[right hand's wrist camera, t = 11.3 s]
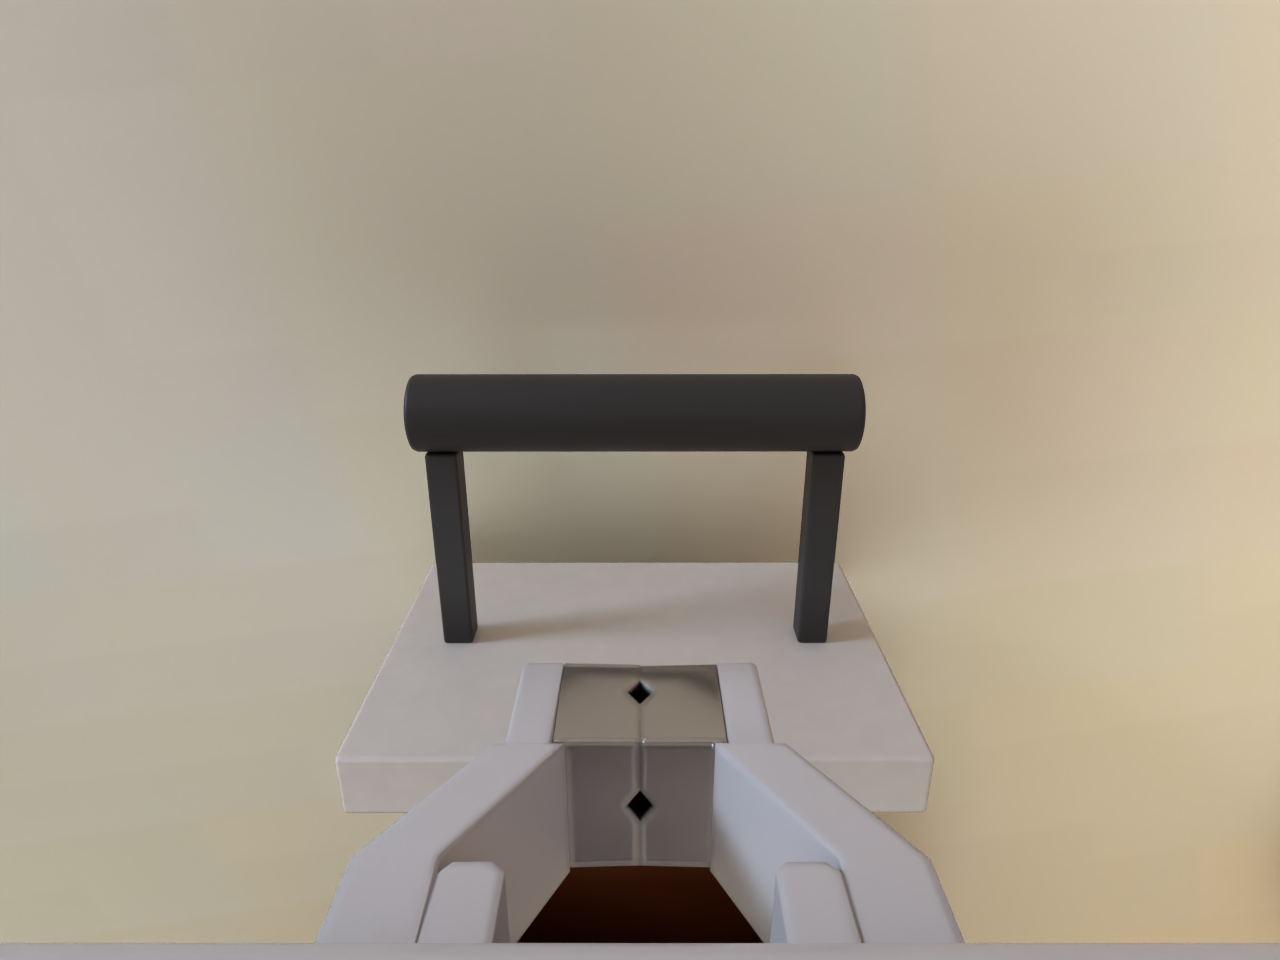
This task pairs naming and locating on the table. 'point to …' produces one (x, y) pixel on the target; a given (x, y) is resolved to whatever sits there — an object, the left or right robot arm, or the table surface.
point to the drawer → (633, 619)
